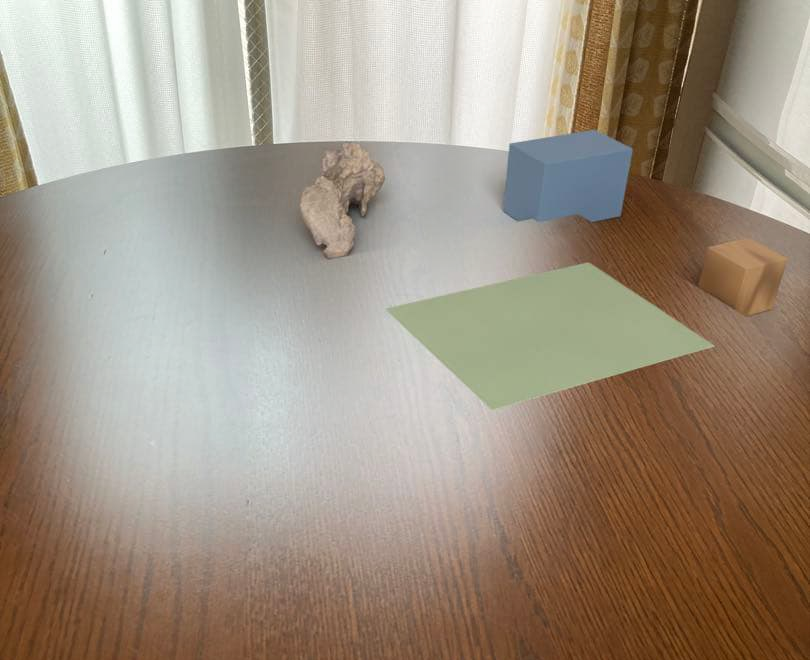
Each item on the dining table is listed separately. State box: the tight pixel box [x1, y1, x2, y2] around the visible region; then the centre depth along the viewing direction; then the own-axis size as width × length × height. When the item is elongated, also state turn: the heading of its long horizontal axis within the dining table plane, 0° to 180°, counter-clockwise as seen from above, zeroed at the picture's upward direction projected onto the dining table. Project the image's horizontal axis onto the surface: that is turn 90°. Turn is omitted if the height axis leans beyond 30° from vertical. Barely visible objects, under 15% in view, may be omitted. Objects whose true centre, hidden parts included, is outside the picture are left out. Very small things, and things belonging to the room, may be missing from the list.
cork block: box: [697, 237, 789, 317], centre depth 76 cm, size 4×4×4 cm
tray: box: [384, 261, 716, 411], centre depth 72 cm, size 20×16×1 cm
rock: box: [299, 141, 386, 260], centre depth 85 cm, size 6×14×7 cm, turn 165°
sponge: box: [502, 129, 634, 223], centre depth 89 cm, size 10×6×6 cm, turn 118°
